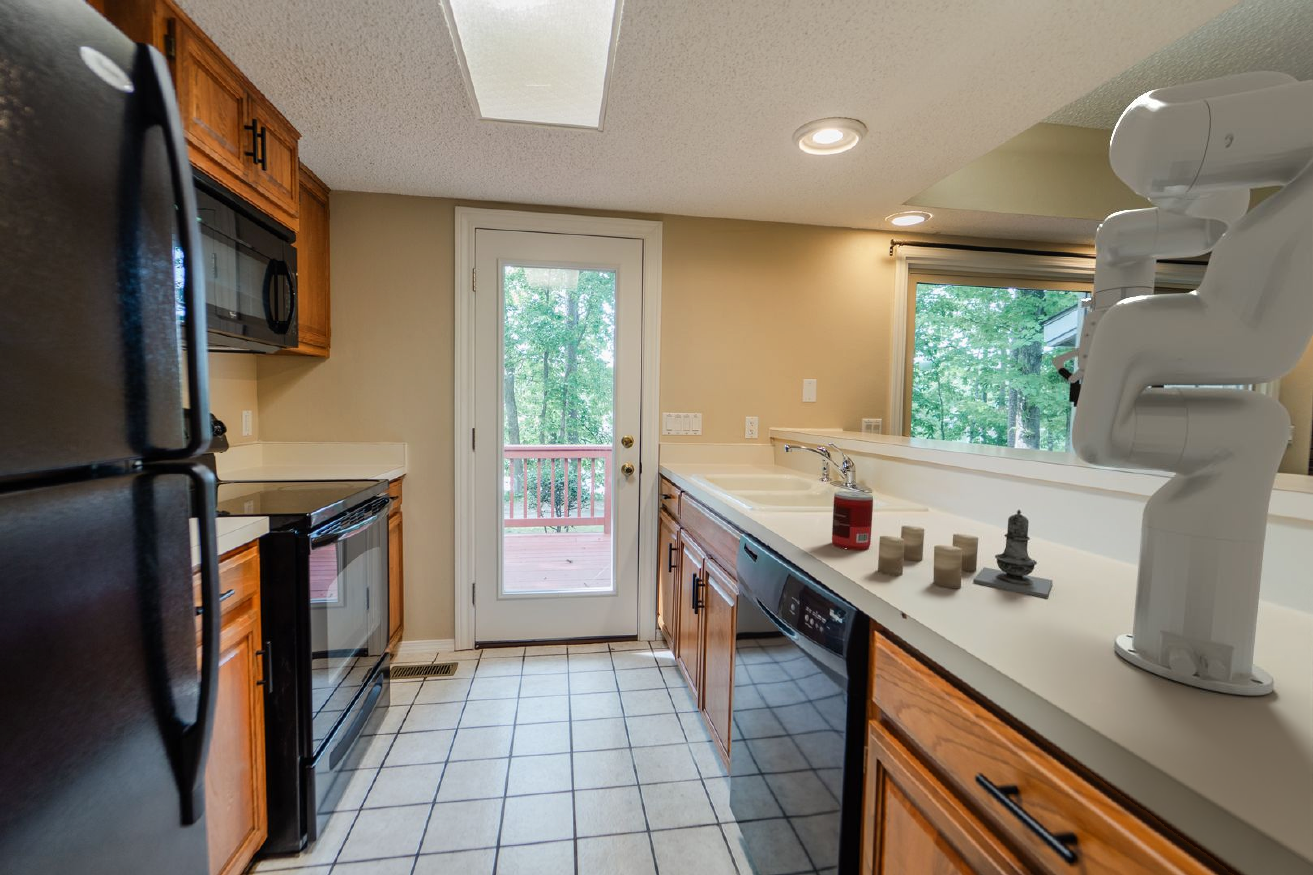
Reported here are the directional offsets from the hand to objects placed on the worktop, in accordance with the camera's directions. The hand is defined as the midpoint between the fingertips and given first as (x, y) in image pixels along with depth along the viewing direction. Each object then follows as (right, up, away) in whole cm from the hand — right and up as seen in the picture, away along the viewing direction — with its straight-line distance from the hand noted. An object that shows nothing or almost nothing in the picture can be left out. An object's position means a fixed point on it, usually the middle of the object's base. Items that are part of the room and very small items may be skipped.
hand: (1113, 407), depth 87 cm
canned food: (-35, -28, +23) cm, 51 cm away
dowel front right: (-28, -29, -1) cm, 41 cm away
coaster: (-16, -30, +1) cm, 34 cm away
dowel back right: (-20, -29, +9) cm, 36 cm away
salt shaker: (-16, -29, +1) cm, 33 cm away
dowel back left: (-27, -29, +15) cm, 42 cm away
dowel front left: (-35, -29, +5) cm, 46 cm away
